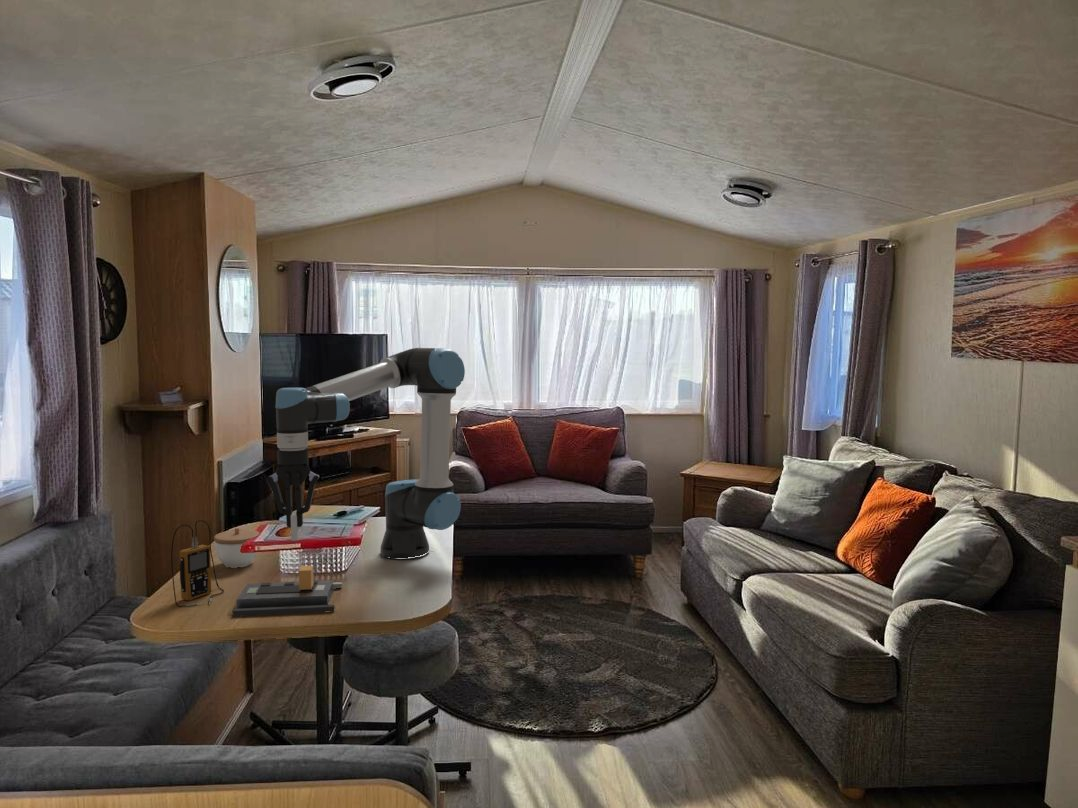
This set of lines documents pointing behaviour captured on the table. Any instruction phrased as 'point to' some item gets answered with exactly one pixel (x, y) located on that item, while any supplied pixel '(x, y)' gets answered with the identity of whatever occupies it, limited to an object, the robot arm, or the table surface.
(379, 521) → the table surface
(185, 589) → the multimeter
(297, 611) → the dark grey bar
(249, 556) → the lidded bowl
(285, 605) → the grey control panel
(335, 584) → the light grey rod
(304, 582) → the orange rectangular block
